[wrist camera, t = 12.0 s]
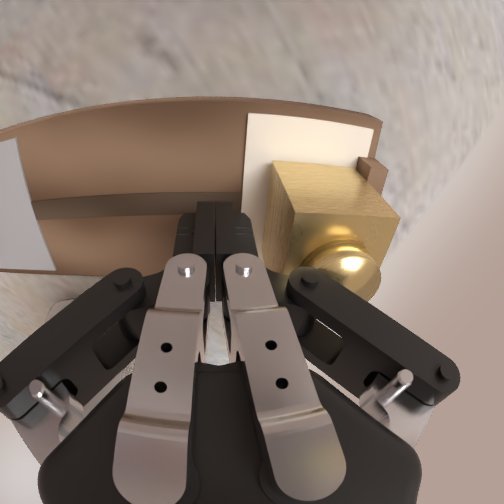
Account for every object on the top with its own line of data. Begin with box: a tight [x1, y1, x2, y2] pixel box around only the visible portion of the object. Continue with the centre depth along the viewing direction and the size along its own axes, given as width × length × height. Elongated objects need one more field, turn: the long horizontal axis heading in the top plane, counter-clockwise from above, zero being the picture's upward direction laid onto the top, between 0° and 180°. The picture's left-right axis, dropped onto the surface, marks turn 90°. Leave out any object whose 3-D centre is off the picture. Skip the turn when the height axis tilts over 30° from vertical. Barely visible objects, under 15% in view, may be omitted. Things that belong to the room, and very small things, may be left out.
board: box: [0, 97, 388, 277], centre depth 13 cm, size 10×25×3 cm, turn 86°
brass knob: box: [261, 160, 400, 302], centre depth 12 cm, size 5×4×6 cm
